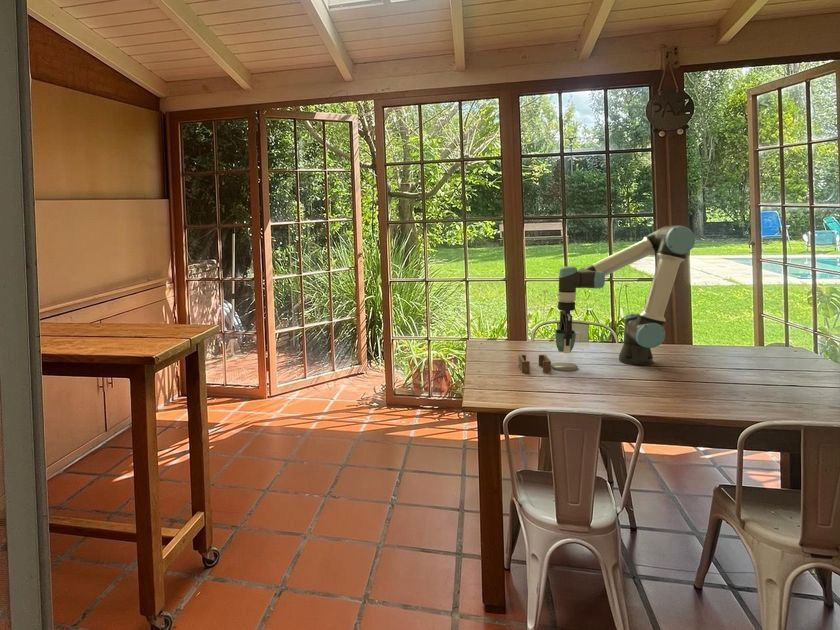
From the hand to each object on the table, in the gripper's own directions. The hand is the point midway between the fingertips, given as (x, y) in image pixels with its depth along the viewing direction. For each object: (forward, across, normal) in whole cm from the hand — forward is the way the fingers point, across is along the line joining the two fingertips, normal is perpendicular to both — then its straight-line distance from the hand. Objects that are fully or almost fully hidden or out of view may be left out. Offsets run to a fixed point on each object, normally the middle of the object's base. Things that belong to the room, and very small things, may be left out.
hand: (564, 350), depth 242 cm
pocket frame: (+8, +2, -14) cm, 16 cm away
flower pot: (+1, 0, 0) cm, 1 cm away
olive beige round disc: (+8, 0, 0) cm, 8 cm away
